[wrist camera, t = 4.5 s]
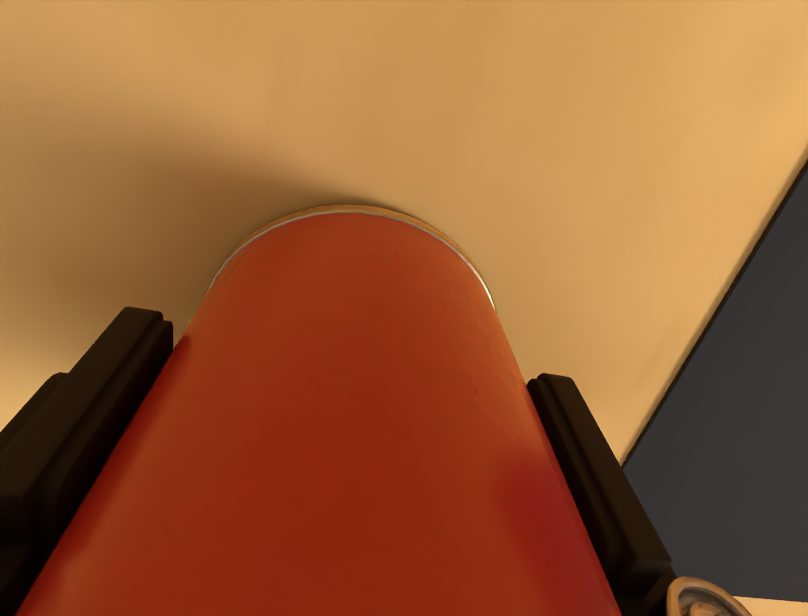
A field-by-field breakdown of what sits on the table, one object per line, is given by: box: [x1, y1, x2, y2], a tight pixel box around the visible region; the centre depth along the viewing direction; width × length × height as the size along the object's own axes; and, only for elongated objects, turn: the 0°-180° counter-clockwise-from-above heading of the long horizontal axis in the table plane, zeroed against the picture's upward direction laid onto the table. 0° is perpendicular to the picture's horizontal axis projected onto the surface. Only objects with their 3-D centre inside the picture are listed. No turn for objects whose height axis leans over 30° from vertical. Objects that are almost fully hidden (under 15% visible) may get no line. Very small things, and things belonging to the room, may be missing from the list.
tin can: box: [15, 205, 622, 616], centre depth 7 cm, size 7×7×10 cm
